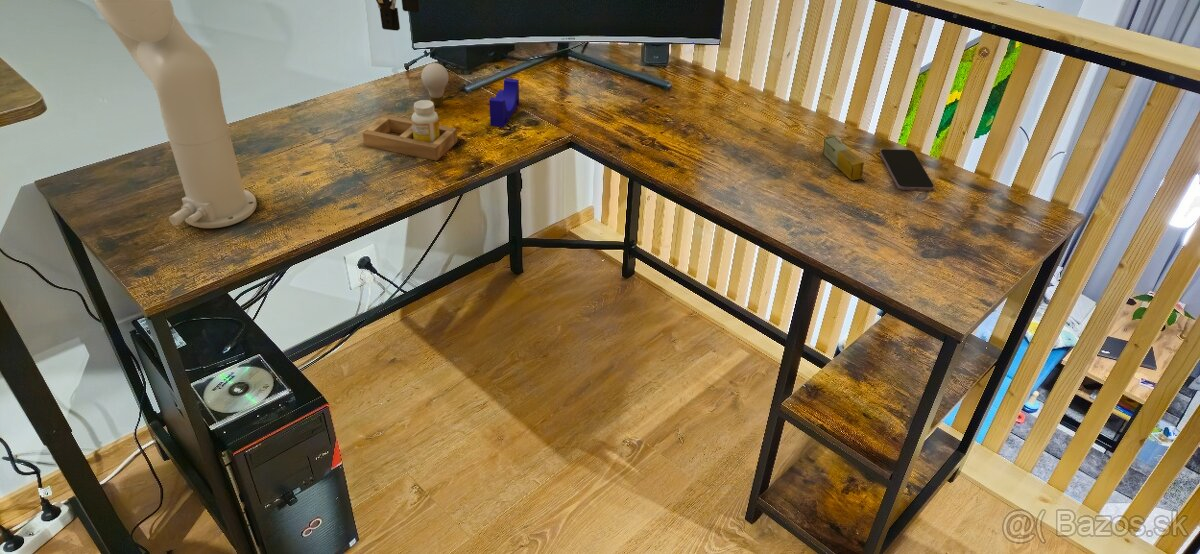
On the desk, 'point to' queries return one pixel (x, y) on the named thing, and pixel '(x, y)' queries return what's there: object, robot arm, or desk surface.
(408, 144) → the caddy
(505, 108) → the cable clip
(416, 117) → the supplement bottle
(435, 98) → the light bulb
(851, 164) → the medication box
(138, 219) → the desk surface
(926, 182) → the smartphone
